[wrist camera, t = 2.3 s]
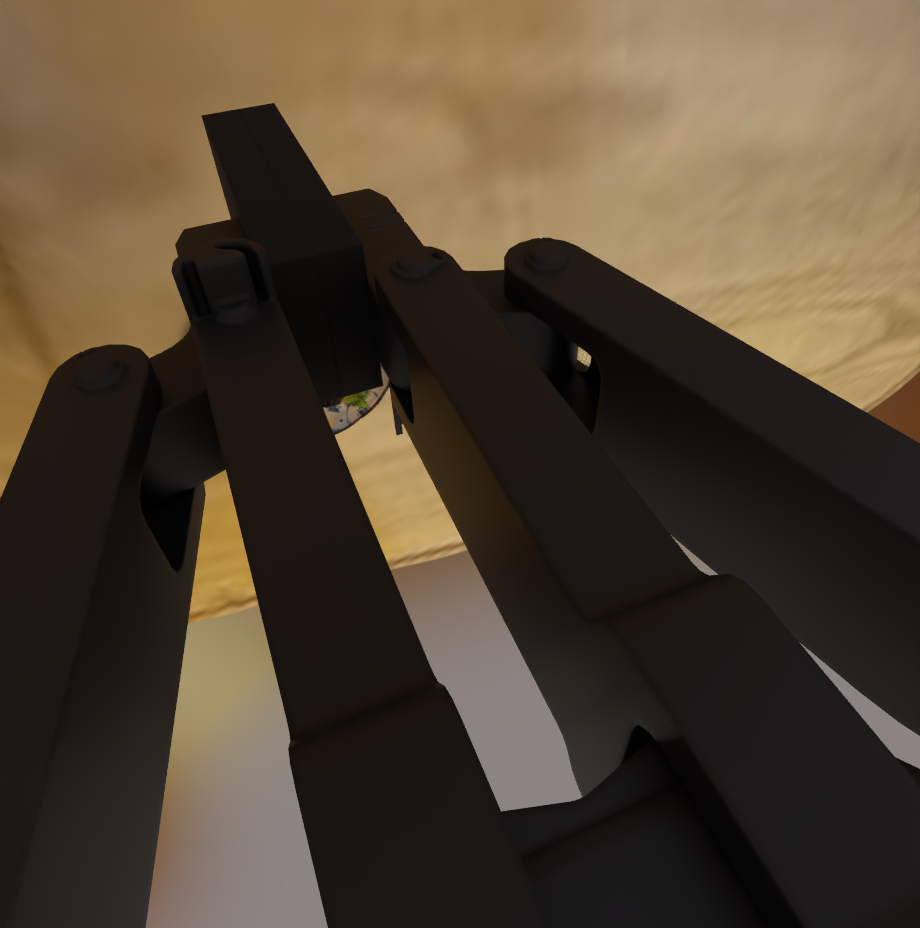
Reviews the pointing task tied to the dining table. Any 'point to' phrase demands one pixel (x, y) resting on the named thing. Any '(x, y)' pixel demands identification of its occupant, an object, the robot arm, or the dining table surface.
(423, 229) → the dining table surface
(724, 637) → the robot arm
